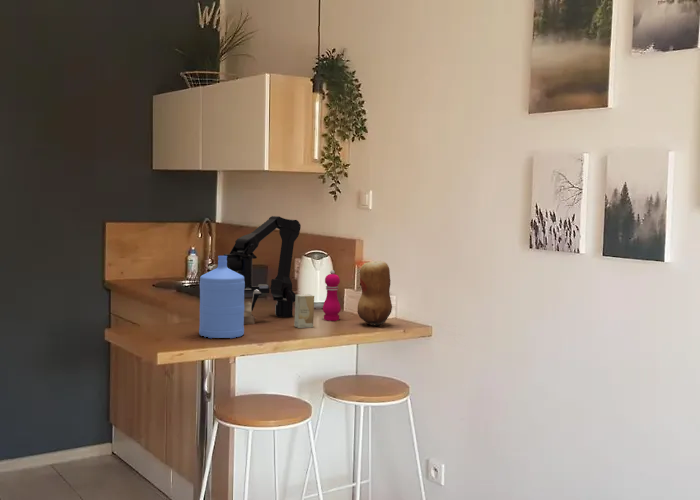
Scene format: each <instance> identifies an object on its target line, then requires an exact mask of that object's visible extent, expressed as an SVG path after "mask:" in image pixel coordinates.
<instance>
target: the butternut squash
mask: <svg viewBox="0 0 700 500" xmlns="http://www.w3.org/2000/svg"><path fill="white" fill-rule="evenodd" d="M390 270H391V269H390V266H389V264H388V263H387V262H385V261H383V260H377V261H371V262H370V261H369V262H365V263H363V265H362V266H361V267H360V273H359V283H360V289H361V295H360V298H359V300H358V303H357V311H356V312H357V315H358V316H359V318H360V319H361V320H362V321H364V322H365V323H366V324H368V325H370V326H380V324H381V325H382V324H385V323H386V321H387V320H388V318H389V317H390V315H391V313H392V311H393V304H392V299H391V295H390V293H391V292H390V289H391V271H390Z"/></svg>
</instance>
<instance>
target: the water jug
mask: <svg viewBox="0 0 700 500" xmlns="http://www.w3.org/2000/svg"><path fill="white" fill-rule="evenodd" d="M244 288H245V281H244V276H242V275H240V274H239V273H237V271H233V270H231V269H229V268H228V267H227V256H224V255H218V256H217V267H216V268H214V269H212V270H210V271H208V272H206V273H204V274H202V275H201V276H200V277H199V328H198V334H199V336H201V337H202V336H204V337H203V338H206V337H208V338H207V339H212V338H230V339H235V338H236V337H237V338H240V337H242V336H243V335H244V334H245V326H244V325H245V324H244V302H245V291H244Z"/></svg>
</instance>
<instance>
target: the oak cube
mask: <svg viewBox="0 0 700 500" xmlns="http://www.w3.org/2000/svg"><path fill="white" fill-rule="evenodd" d="M251 308H252V301H244V317H251V314H252V311H251Z"/></svg>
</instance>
